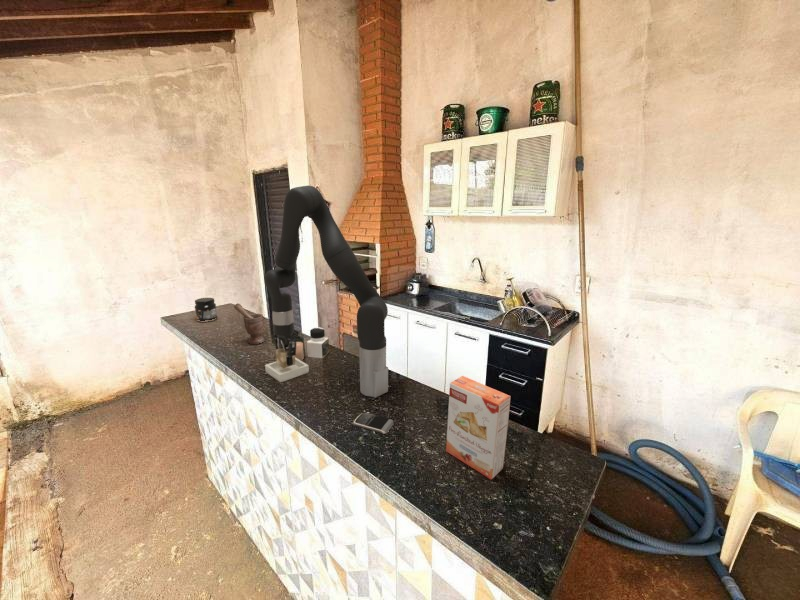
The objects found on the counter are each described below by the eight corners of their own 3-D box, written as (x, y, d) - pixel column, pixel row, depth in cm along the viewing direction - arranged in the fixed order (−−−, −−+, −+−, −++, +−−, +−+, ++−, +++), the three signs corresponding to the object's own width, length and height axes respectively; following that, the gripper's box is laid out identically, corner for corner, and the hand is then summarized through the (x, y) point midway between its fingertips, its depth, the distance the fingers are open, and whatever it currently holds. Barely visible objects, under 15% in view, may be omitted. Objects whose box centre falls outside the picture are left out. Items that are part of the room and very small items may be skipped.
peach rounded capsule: (306, 359, 147) (305, 344, 145) (295, 362, 144) (294, 347, 142) (300, 355, 151) (298, 340, 149) (289, 359, 147) (288, 343, 145)
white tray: (309, 372, 136) (308, 365, 135) (280, 382, 127) (279, 375, 127) (293, 362, 144) (293, 356, 143) (265, 371, 135) (265, 364, 135)
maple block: (295, 364, 135) (294, 350, 133) (283, 368, 131) (282, 353, 130) (289, 360, 138) (288, 346, 137) (277, 364, 135) (276, 349, 133)
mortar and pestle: (245, 349, 157) (241, 306, 152) (236, 344, 162) (231, 303, 157) (269, 341, 166) (265, 301, 161) (259, 337, 171) (255, 298, 166)
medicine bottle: (322, 358, 148) (321, 332, 145) (307, 357, 149) (305, 331, 146) (329, 352, 155) (328, 326, 152) (314, 350, 156) (313, 325, 153)
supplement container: (197, 318, 199) (194, 298, 196) (218, 316, 203) (215, 296, 200) (195, 323, 190) (192, 302, 187) (217, 321, 194) (214, 301, 191)
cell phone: (362, 415, 109) (362, 411, 108) (394, 424, 105) (394, 419, 104) (352, 426, 103) (352, 422, 103) (385, 435, 99) (385, 431, 99)
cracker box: (444, 452, 92) (448, 381, 86) (458, 442, 96) (462, 374, 91) (491, 482, 82) (498, 404, 77) (503, 469, 86) (512, 394, 81)
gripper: (265, 319, 132) (268, 359, 137) (283, 328, 123) (286, 371, 127) (283, 315, 138) (286, 354, 142) (302, 323, 128) (304, 365, 132)
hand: (286, 362), depth 134 cm, fingers closed on maple block, 5 cm apart
